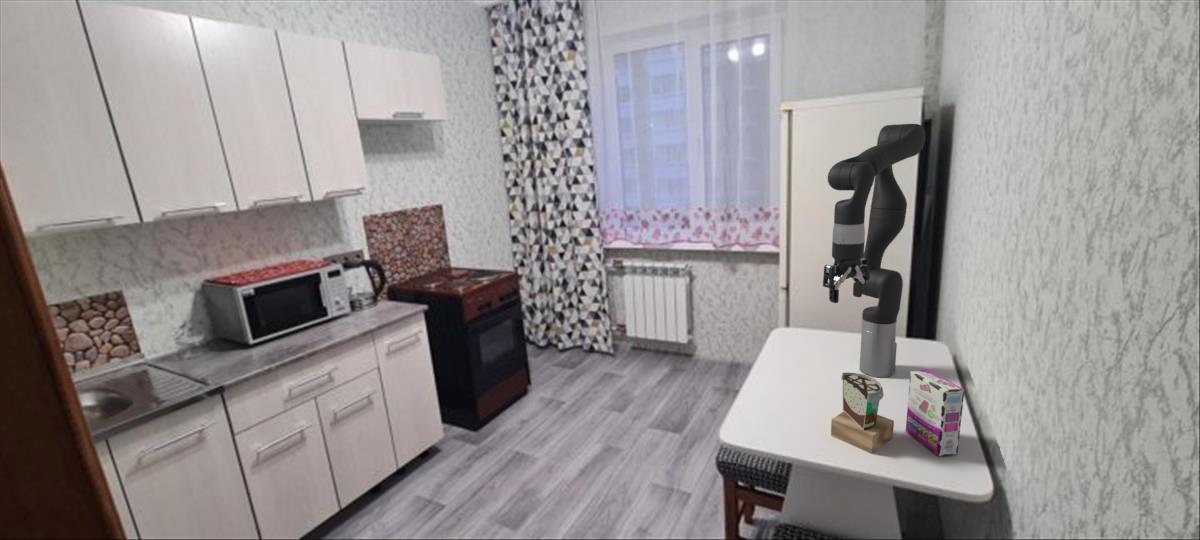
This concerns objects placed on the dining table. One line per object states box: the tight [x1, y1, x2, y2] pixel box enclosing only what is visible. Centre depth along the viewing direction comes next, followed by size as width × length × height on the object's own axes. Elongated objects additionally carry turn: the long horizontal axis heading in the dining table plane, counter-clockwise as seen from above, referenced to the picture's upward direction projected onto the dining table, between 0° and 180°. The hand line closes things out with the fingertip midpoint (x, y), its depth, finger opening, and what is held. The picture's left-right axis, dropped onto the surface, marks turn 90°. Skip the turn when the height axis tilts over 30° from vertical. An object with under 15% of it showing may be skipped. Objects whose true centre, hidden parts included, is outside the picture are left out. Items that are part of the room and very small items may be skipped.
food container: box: [841, 372, 885, 430], centre depth 118 cm, size 12×6×10 cm, turn 2°
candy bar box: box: [905, 369, 965, 458], centre depth 114 cm, size 11×5×16 cm, turn 5°
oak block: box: [830, 411, 895, 454], centre depth 120 cm, size 10×10×5 cm
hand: (845, 299), depth 131 cm, fingers open, 8 cm apart
